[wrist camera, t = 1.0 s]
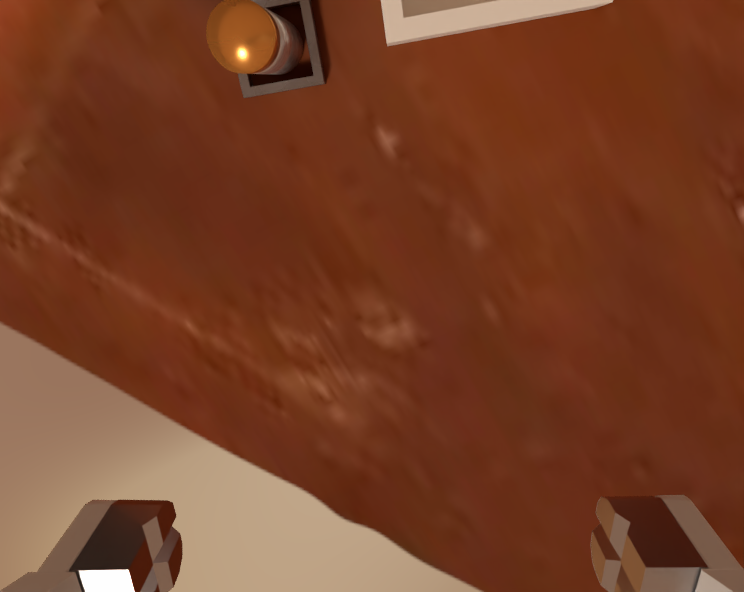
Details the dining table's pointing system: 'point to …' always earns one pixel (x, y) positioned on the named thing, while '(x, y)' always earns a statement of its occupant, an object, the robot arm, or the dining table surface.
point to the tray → (467, 15)
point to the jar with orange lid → (253, 39)
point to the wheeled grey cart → (281, 0)
